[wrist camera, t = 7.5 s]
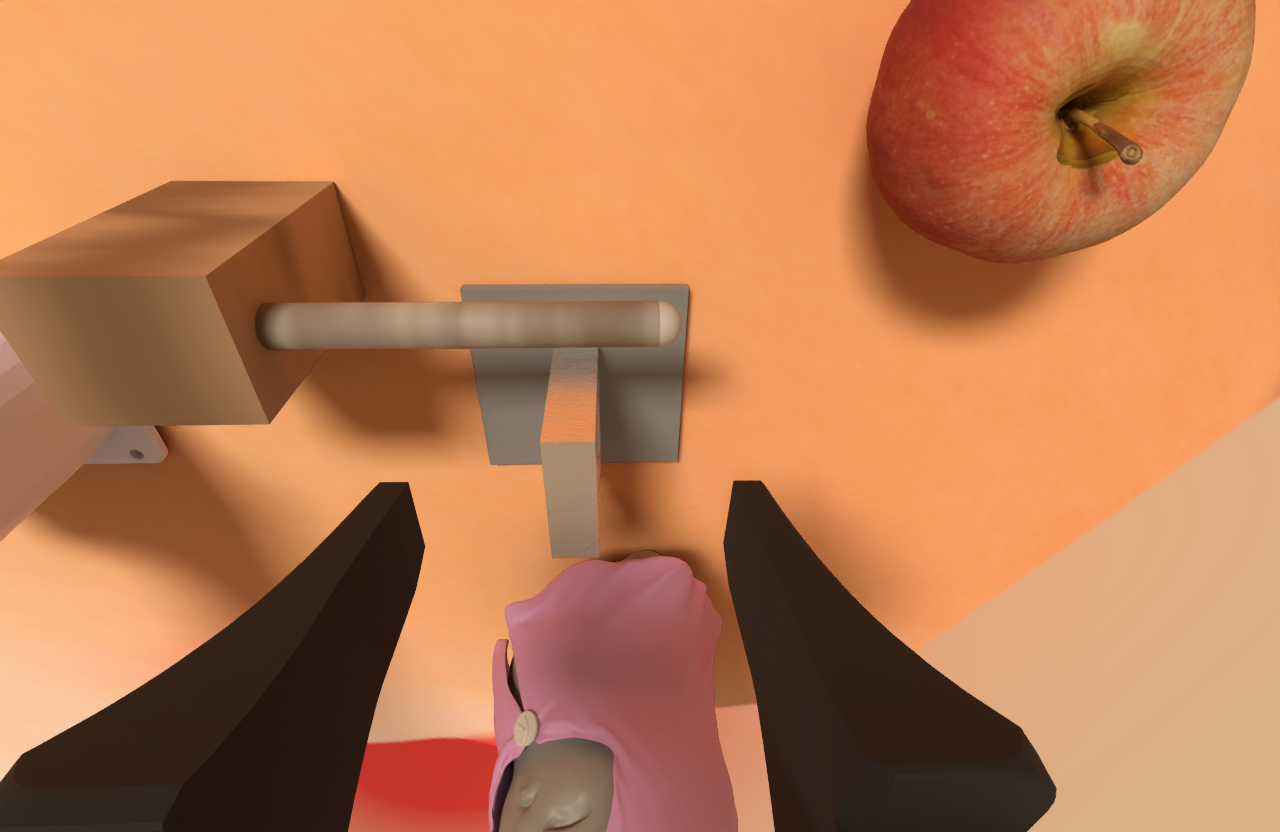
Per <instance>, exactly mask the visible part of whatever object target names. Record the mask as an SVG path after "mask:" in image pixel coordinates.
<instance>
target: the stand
mask: <svg viewBox="0 0 1280 832" xmlns="http://www.w3.org/2000/svg"><path fill="white" fill-rule="evenodd" d="M364 300H365V295H364V291H363V288H362V284H361V281H360V277H359V273H358V270H357V266H356V262H355V259H354V255H353V251H352V248H351V244H350V240H349V237H348V233H347V229H346V226H345V222H344V218H343V215H342V211H341V208H340V204H339V200H338V197H337V193H336V189H335V186H334V182H233V181H170V182H168V183H166V184H164V185H162V186H159V187H157V188H155V189H153V190H151V191H149V192H146V193H144V194H142V195H140V196H138V197H136V198H133V199H131V200H129V201H127V202H125V203H123V204H120V205H118V206H116V207H114V208H112V209H110V210H107V211H105V212H103V213H101V214H99V215H97V216H94V217H92V218H90V219H88V220H86V221H84V222H81V223H79V224H77V225H75V226H73V227H71V228H68V229H66V230H64V231H62V232H60V233H57V234H55V235H53V236H51V237H49V238H47V239H44V240H42V241H40V242H38V243H36V244H34V245H31V246H29V247H27V248H25V249H23V250H21V251H18V252H16V253H14V254H12V255H10V256H8V257H5V258H3V259H1V260H0V331H1V333H2V334H3V335H4V337H5V338H6V340H7V341H8V343H9V344H10V346H11V347H12V349H13V350H14V352H15V353H16V355H17V356H18V357H19V359H20V360H21V362H22V363H23V365H24V366H25V368H26V369H27V371H28V372H29V374H30V375H31V376H32V378H33V379H34V381H35V382H36V384H37V385H38V387H39V388H40V390H41V391H42V393H43V394H44V396H45V397H46V398H47V400H48V401H49V403H50V404H51V406H52V407H53V409H54V410H55V412H56V413H57V415H58V416H59V418H60V419H61V420H62V422H63V423H64V425H65V426H66V427H98V426H174V425H250V424H270V423H271V421H272V420H273V419H274V418H275V416H276V415H277V414H278V412H279V411H280V410H281V408H282V407H283V406H284V404H285V403H286V402H287V401H288V399H289V398H290V397H291V395H292V394H293V393H294V391H295V390H296V389H297V387H298V386H299V385H300V383H301V382H302V381H303V380H304V378H305V377H306V376H307V374H308V373H309V372H310V370H311V369H312V368H313V366H314V365H315V364H316V363H317V361H318V360H319V359H320V357H321V356H322V355H323V353H324V352H325V351H326V350H358V349H482V348H607V347H663V346H667V345H669V344H671V343H672V342H673V341H674V340H675V339H676V338H677V337H678V335H679V333H680V330H681V318H680V315H679V313H678V311H677V310H676V309H675V307H673V306H672V305H671V304H669V303H667V302H663V301H545V302H363V301H364Z"/></svg>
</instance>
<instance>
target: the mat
mask: <svg viewBox="0 0 1280 832" xmlns="http://www.w3.org/2000/svg"><path fill="white" fill-rule="evenodd" d="M460 291H461V297H462V302H545V301H663V302H667V303H669V304H671V305H672V306H673V307H675V309H676V310H677V311H678V313H679V315H680V318H681V330H680V333H679V335H678V337H677V338H676V339H675V340H674V341H673V342H672V343H671V344H669V345H667V346H663V347H607V348H598V358H599V392H600V425H601V463H618V462H677V459H678V444H679V429H680V414H681V399H682V384H683V369H684V354H685V338H686V323H687V308H688V293H689V287H688V284H569V285H462V287H461V289H460ZM553 351H554V348H482V349H471V355H472V360H473V366H474V372H475V378H476V384H477V389H478V395H479V401H480V407H481V413H482V419H483V424H484V430H485V436H486V442H487V448H488V453H489V459H490V465H495V464H542V458H541V449H540V438H541V431H542V425H543V418H544V411H545V405H546V398H547V391H548V384H549V378H550V371H551V364H552V357H553Z"/></svg>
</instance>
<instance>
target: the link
mask: <svg viewBox="0 0 1280 832" xmlns="http://www.w3.org/2000/svg"><path fill="white" fill-rule="evenodd" d="M540 449H541V458H542V468H543V477H544V486H545V496H546V505H547V515H548V524H549V533H550V543H551V552H552V558H577V557H599V548H600V478H601V425H600V392H599V358H598V348H554V351H553V357H552V364H551V371H550V378H549V384H548V391H547V398H546V405H545V411H544V418H543V425H542V431H541V438H540Z"/></svg>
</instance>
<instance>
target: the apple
mask: <svg viewBox="0 0 1280 832" xmlns="http://www.w3.org/2000/svg"><path fill="white" fill-rule="evenodd" d="M1255 11H1256V6H1255V0H911V1H910V3H909V4H908V6H907V7H906V9H905V10H904V11H903V13H902V14H901V16H900V18H899V19H898V21H897V23H896V25H895V26H894V28H893V30H892V32H891V35H890V37H889V40H888V42H887V44H886V47H885V51H884V54H883V57H882V60H881V64H880V68H879V72H878V76H877V80H876V84H875V87H874V91H873V94H872V98H871V103H870V107H869V111H868V118H867V127H866V130H867V146H868V151H869V156H870V161H871V165H872V168H873V172H874V175H875V178H876V180H877V183H878V186H879V188H880V191H881V193H882V195H883V197H884V199H885V200H886V202H887V203H888V205H889V206H890V207H891V209H892V210H893V211H894V213H895V214H896V215H897V216H898V217H899V219H900V220H901V221H903V222H904V223H905V224H907V225H908V226H909V227H910V228H912V229H913V230H914V231H916V232H918V233H919V234H921V235H923V236H924V237H926V238H928V239H929V240H932V241H934V242H936V243H938V244H940V245H943V246H946V247H949V248H951V249H954V250H957V251H960V252H962V253H964V254H967V255H969V256H971V257H974V258H977V259H981V260H985V261H989V262H997V263H1021V262H1029V261H1035V260H1040V259H1045V258H1050V257H1054V256H1058V255H1062V254H1066V253H1070V252H1073V251H1077V250H1080V249H1084V248H1088V247H1091V246H1095V245H1097V244H1100V243H1103V242H1105V241H1108V240H1110V239H1112V238H1114V237H1116V236H1118V235H1120V234H1122V233H1124V232H1126V231H1128V230H1129V229H1131V228H1133V227H1135V226H1136V225H1138V224H1139V223H1141V222H1142V221H1144V220H1145V219H1147V218H1148V217H1150V216H1151V215H1152V214H1154V213H1155V212H1156V211H1158V210H1159V209H1160V208H1161V207H1163V206H1164V205H1165V204H1166V203H1167V202H1168V201H1169V200H1170V199H1171V198H1172V197H1173V196H1174V195H1175V194H1176V193H1177V192H1178V191H1179V190H1180V189H1181V188H1182V187H1183V186H1184V185H1185V184H1186V183H1187V182H1188V181H1189V180H1190V179H1191V177H1192V176H1193V175H1194V174H1195V173H1196V172H1197V171H1198V169H1199V168H1200V167H1201V166H1202V165H1203V164H1204V162H1205V161H1206V159H1207V158H1208V156H1209V155H1210V153H1211V152H1212V150H1213V148H1214V146H1215V144H1216V143H1217V141H1218V139H1219V137H1220V135H1221V133H1222V131H1223V128H1224V126H1225V124H1226V122H1227V119H1228V117H1229V115H1230V113H1231V111H1232V109H1233V107H1234V105H1235V102H1236V100H1237V98H1238V96H1239V94H1240V91H1241V89H1242V87H1243V84H1244V82H1245V79H1246V76H1247V73H1248V70H1249V66H1250V63H1251V58H1252V52H1253V46H1254V34H1255Z"/></svg>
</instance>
